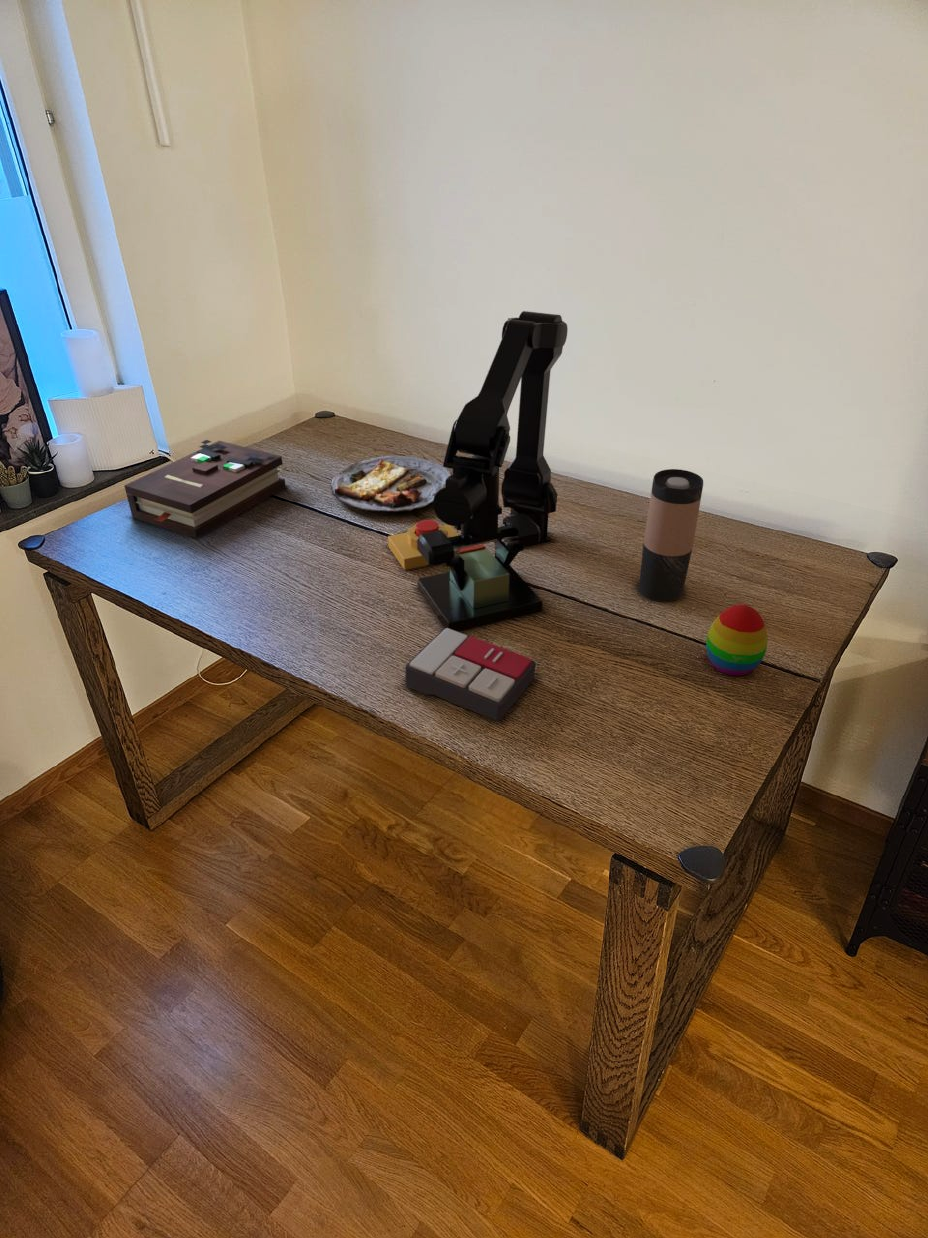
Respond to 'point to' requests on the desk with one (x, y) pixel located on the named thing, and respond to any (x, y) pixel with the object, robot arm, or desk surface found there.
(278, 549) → the desk surface
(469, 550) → the box
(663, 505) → the travel mug
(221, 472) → the decorative book
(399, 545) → the button block
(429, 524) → the button
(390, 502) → the food plate
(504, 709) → the calculator
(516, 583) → the black square platform
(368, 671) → the desk surface
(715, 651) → the decorative egg
